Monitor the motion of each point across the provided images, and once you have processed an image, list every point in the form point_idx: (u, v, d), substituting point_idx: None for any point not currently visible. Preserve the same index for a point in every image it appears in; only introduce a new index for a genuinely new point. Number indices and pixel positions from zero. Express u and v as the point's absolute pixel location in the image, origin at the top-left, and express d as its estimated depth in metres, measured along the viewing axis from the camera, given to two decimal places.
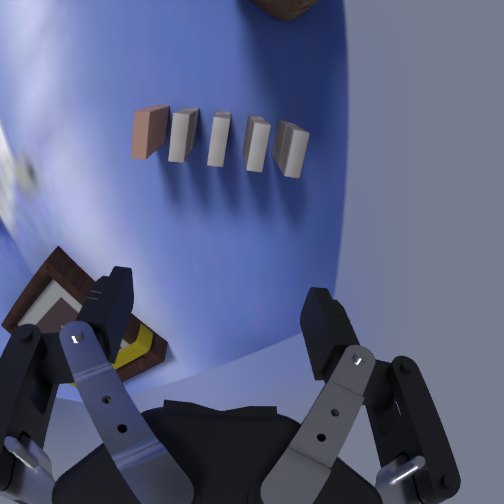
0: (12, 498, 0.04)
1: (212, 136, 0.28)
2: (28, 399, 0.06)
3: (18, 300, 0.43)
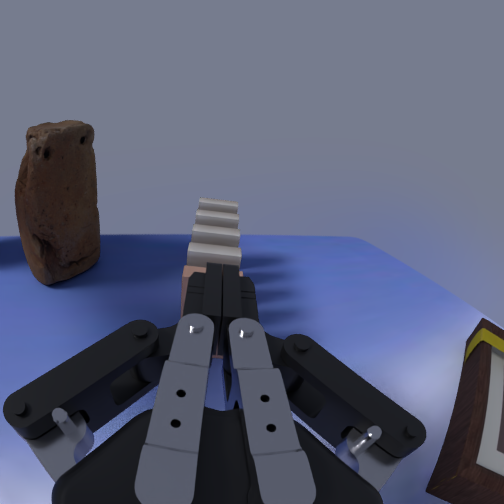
0: None
1: (211, 232, 0.31)
2: (107, 388, 0.07)
3: None
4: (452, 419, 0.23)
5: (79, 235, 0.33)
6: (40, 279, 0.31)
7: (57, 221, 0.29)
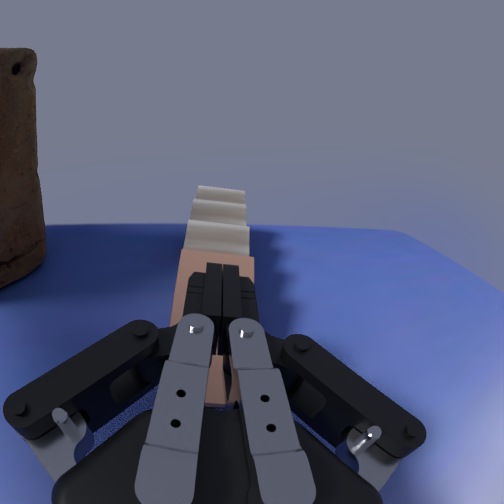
0: None
1: None
2: (107, 388, 0.07)
3: None
4: None
5: (7, 221, 0.17)
6: None
7: None
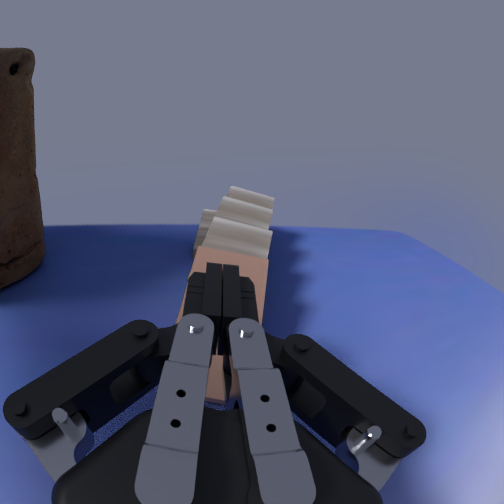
0: None
1: None
2: (107, 388, 0.07)
3: None
4: None
5: (5, 222, 0.17)
6: None
7: None
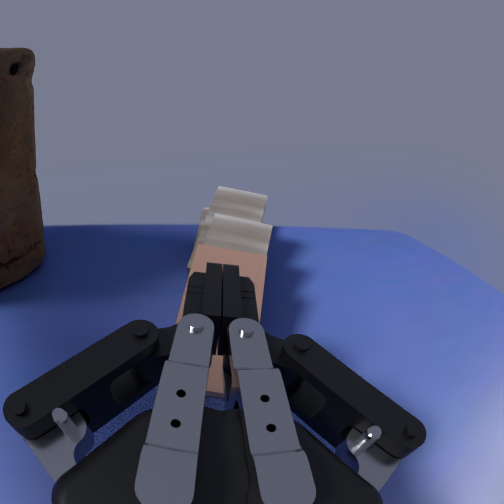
0: None
1: None
2: (107, 388, 0.07)
3: None
4: None
5: (5, 222, 0.17)
6: None
7: None
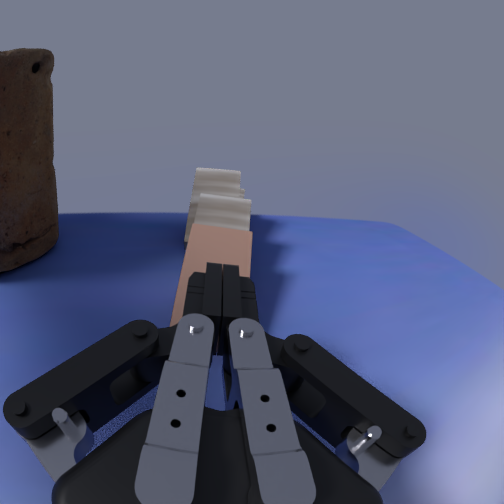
0: None
1: None
2: (107, 388, 0.07)
3: None
4: None
5: (25, 205, 0.20)
6: None
7: None
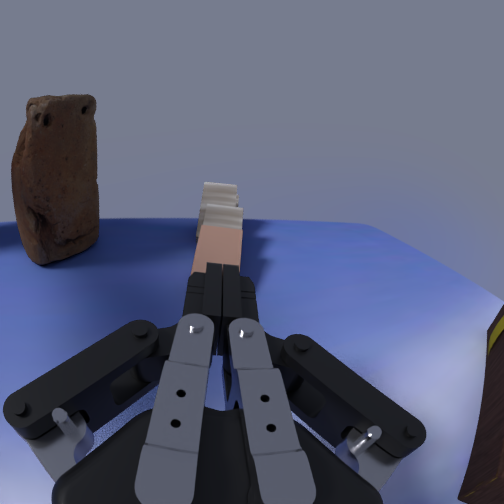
0: None
1: (217, 183, 0.45)
2: (107, 388, 0.07)
3: None
4: (482, 415, 0.19)
5: (77, 211, 0.30)
6: (34, 258, 0.29)
7: (54, 193, 0.27)
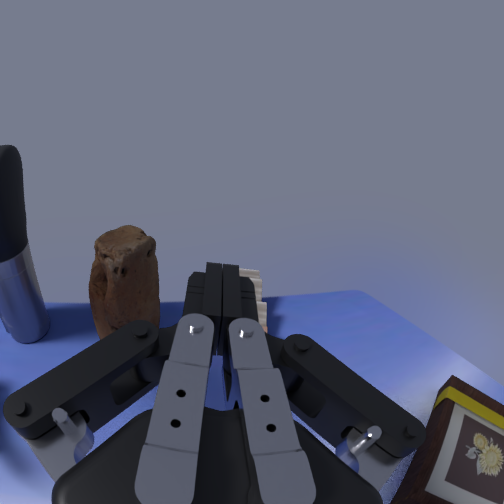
0: None
1: None
2: (107, 388, 0.07)
3: None
4: (415, 456, 0.33)
5: None
6: None
7: (133, 316, 0.41)
